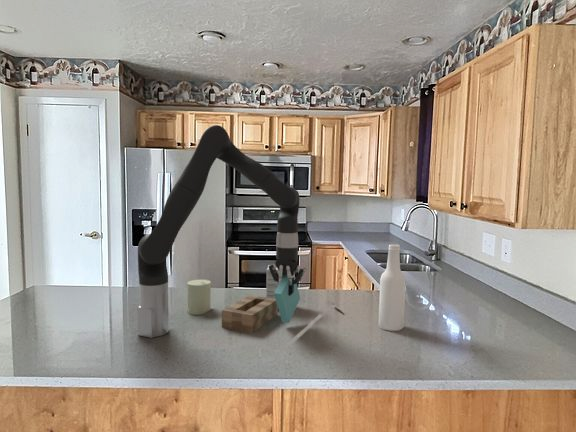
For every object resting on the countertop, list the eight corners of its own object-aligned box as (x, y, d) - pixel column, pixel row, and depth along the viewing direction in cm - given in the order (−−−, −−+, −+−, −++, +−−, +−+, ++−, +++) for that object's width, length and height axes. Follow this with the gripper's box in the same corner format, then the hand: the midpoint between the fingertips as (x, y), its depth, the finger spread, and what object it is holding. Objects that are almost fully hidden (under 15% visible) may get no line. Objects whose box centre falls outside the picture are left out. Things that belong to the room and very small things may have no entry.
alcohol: (386, 332, 138) (389, 247, 136) (374, 323, 147) (377, 243, 144) (408, 330, 141) (412, 246, 138) (395, 322, 149) (398, 242, 147)
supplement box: (288, 311, 159) (289, 269, 158) (265, 310, 159) (266, 269, 158) (289, 304, 169) (289, 264, 167) (267, 303, 169) (268, 264, 167)
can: (197, 316, 152) (197, 285, 151) (182, 311, 157) (182, 281, 156) (215, 310, 159) (215, 280, 158) (200, 305, 164) (200, 277, 163)
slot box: (251, 335, 134) (252, 315, 133) (221, 329, 139) (221, 310, 138) (277, 317, 152) (277, 299, 151) (249, 312, 157) (249, 295, 156)
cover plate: (288, 323, 139) (280, 294, 131) (282, 321, 140) (274, 293, 132) (300, 298, 148) (293, 269, 140) (294, 297, 149) (287, 269, 141)
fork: (341, 316, 156) (341, 311, 155) (325, 304, 171) (325, 299, 171) (347, 315, 156) (347, 310, 156) (331, 303, 172) (331, 299, 171)
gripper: (264, 245, 136) (263, 294, 138) (301, 248, 131) (301, 300, 133) (273, 242, 143) (273, 289, 145) (309, 245, 138) (308, 294, 139)
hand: (286, 294), depth 139 cm, fingers closed on cover plate, 2 cm apart
